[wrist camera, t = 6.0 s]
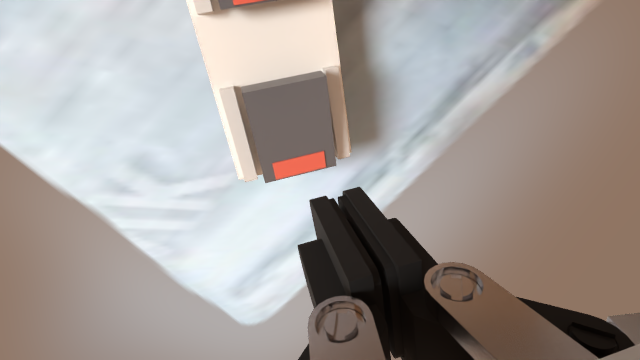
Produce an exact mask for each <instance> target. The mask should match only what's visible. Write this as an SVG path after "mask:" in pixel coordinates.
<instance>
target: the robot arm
mask: <svg viewBox="0 0 640 360" xmlns="http://www.w3.org/2000/svg"><path fill="white" fill-rule="evenodd" d="M338 204H339V206H338ZM338 204H337V203H336V201H335V199H334V198H332V199H328V198H327V196H323V197H319V198H315V199H311V200H310V207H311V212H312V217H313V222H314V227H315V231H316V236H317V240H314V241H311V242H307V243H304V244H300V245H298V250H299V255H300V259H301V263H302V267H303V271H304V275H305V279H306V282H307V286H308V289H309V293H310V296H311V300H312V303H313V306H314V310H313V311H312V313H311V315H310V317H309V322H308V336H309V344H308V346H307V347H306V349H305V350H304V351H303V353H302V355H301V356H300V357H299V359H298V360H391V356H390V351H391V353H392V355H393V357H394V358H398V357H401V359H402V360H640V313H634V314H625V315H617V316H616V315H615V316H608V318H607V321H604V320H602V319H599V318H597V317H594V316H591V315H588V314H584V313H579V312H576V311H572V310H568V309H563V308H559V307H555V306H551V305H547V304H543V303H539V302H535V301H531V300H527V299H523V298H519V297H515V296H514V295H512V294H511V293H510V292H508V291H507V290H505V289H504V288H503V287H501V286H500V285H499V284H497V283H496V282H494V281H493V280H492V279H491V278H489V277H488V276H486V275H485V274H484V273H482V272H481V271H479V270H478V269H476V268H474V267H472V266H469V265H466V264H463V263H455V262H448V263H442V264H437V263H436V261H435V260H434V259H433V258H432V257H431V256H430V255H429V254H428V253H427V251H426V250H425V249H424V248H423V247H422V246H421V245H420V244H419V243H418V241H417V240H416V239H415V238H414V237H413V236H412V235H411V234H410V233H409V231H408V230H407V229H406V228H405V227H404V226H403V225H402V224H401V223H400V221H399V220H397V219H396V218H392V219H388V220H387V218H386V217H385V216H384V215H383V214H382V212H381V211H380V210H379V209H378V208H377V207H376V205H375V204H374V203H373V202H372V201H371V199H370V198H369V197H368V196H367V195H366V193H365V192H364V191H363V190H362V189H361V188H360V187H357V188H353V189H349V190H345V191H343V196H340V197H338Z"/></svg>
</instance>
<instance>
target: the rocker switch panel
mask: <svg viewBox="0 0 640 360" xmlns="http://www.w3.org/2000/svg"><path fill="white" fill-rule="evenodd" d="M186 1H187V5H188V8H189V11H190V15H191V18H192V22H193V25H194V28H195V32H196V35H197V39H198V42H199V45H200V49H201V52H202V56H203V59H204V62H205V66H206V69H207V73H208V76H209V79H210V83H211V86H212V90H213V93H214V96H215V100H216V103H217V107H218V110H219V113H220V117H221V120H222V124H223V127H224V130H225V134H226V137H227V140H228V144H229V147H230V151H231V154H232V157H233V161H234V164H235V168H236V171H237V174H238V178H239V180H240V179H244V180H245V182H248V181H252V180H256V179H258V177H257V175H261V174H263V172H262V168H261V165H260V161H259V157H258V153H257V149H256V145H255V142H254V138H253V134H252V130H251V126H250V122H249V119H248V115H247V111H246V107H245V103H244V99H243V95H242V91H241V87H242V86H247V85H252V84H257V83H262V82H267V81H272V80H277V79H282V78H286V77H291V76H296V75H301V74H306V73H311V72H316V71H322V72H323V73H324V74H325V75H326V76H327V85H328V95H329V104H330V113H331V122H332V131H333V140H334V150H335V156H336V157H337V158H338V159H342V158H346V157H350V153H351V144H350V136H349V129H348V121H347V113H346V105H345V98H344V90H343V82H342V75H341V67H340V59H339V51H338V44H337V36H336V28H335V20H334V13H333V5H332V0H278V1H271V2H265V3H259V4H253V5H247V6H241V7H235V8H229V9H223V10H220V6H219V2H218V0H186Z"/></svg>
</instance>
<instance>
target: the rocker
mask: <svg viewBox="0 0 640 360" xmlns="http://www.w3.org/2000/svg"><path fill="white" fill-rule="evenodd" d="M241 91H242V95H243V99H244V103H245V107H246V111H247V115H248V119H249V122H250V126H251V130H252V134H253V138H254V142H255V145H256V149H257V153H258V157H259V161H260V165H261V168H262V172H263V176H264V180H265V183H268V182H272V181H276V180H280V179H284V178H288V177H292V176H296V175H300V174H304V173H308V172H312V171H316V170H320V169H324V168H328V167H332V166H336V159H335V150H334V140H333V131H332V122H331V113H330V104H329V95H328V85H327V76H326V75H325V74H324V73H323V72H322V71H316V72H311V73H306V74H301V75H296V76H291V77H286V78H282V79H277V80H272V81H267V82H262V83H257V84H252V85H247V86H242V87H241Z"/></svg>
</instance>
